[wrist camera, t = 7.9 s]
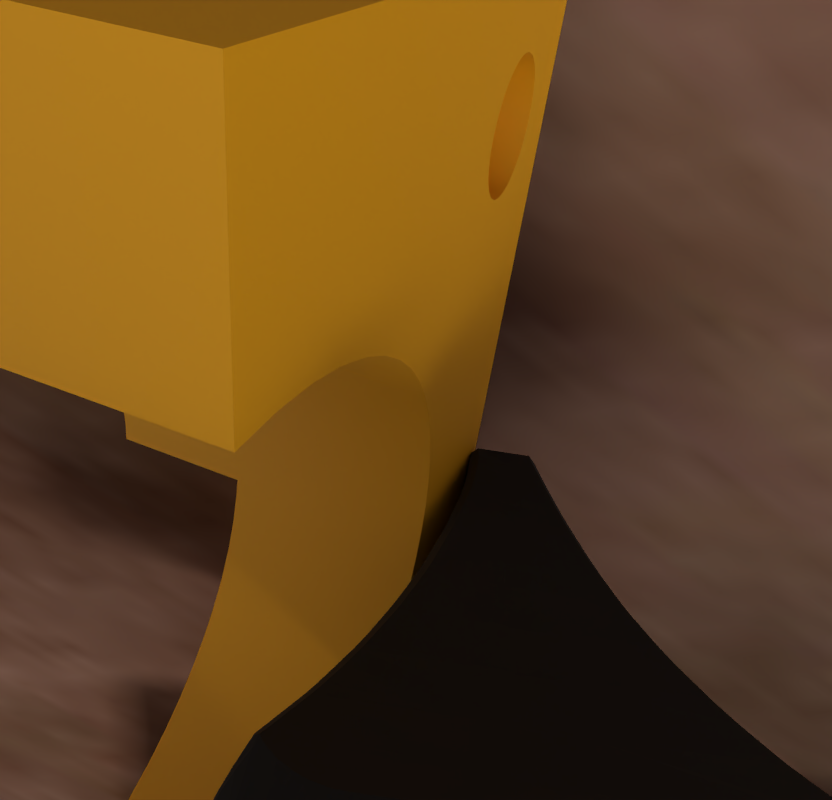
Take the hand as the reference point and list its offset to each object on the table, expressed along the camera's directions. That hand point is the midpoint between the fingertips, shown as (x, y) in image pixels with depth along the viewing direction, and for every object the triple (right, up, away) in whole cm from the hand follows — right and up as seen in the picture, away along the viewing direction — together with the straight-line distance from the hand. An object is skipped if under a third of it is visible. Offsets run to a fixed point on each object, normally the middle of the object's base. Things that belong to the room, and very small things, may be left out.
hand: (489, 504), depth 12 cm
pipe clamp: (-2, +2, 0) cm, 3 cm away
